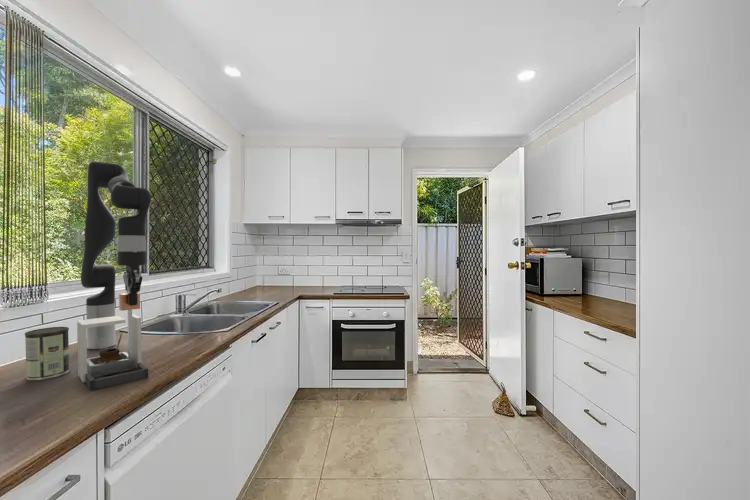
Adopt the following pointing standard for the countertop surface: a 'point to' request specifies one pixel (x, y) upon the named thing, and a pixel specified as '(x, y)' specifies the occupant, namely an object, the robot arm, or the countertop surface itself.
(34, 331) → the coffee can
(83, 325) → the white and grey frame
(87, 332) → the robot arm
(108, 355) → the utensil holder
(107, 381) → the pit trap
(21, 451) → the countertop surface
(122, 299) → the slider
